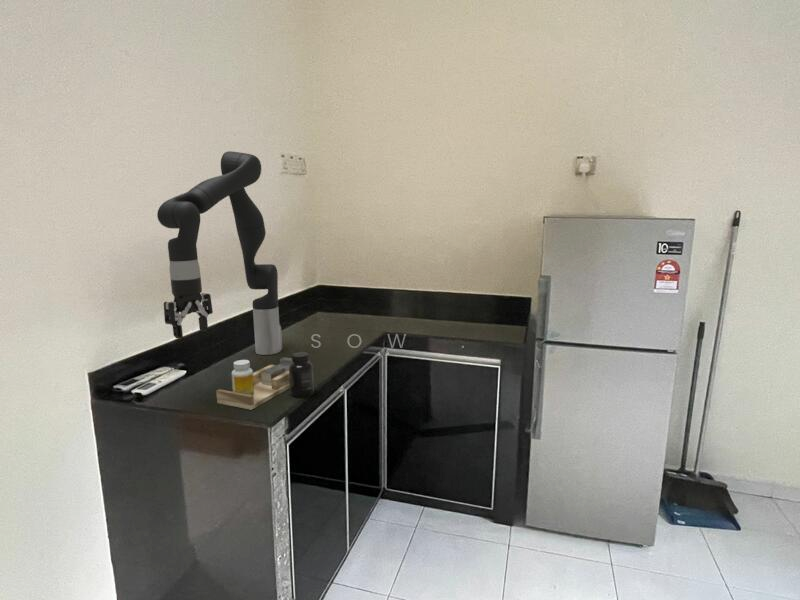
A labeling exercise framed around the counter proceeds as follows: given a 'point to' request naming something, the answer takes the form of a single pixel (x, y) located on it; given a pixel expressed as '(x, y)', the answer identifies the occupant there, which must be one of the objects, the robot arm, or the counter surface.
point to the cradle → (255, 391)
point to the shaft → (276, 371)
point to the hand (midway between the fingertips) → (191, 334)
